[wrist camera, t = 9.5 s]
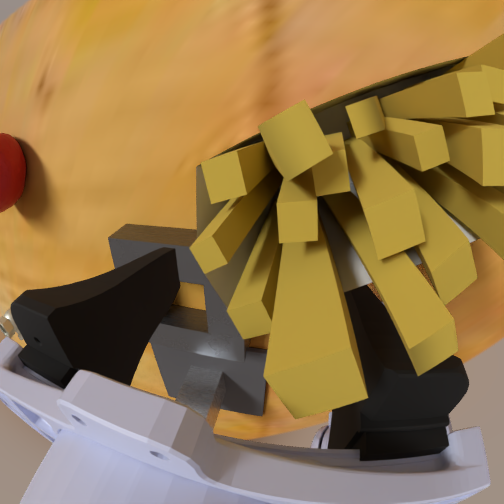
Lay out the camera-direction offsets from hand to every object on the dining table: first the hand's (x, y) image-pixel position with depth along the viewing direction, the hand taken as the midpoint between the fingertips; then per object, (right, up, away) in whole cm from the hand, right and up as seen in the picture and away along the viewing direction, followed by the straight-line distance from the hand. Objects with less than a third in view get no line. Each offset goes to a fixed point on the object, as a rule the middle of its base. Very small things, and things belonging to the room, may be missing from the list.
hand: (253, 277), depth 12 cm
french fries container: (+6, +10, +6) cm, 13 cm away
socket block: (-6, -2, +15) cm, 16 cm away
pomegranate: (-29, +12, +12) cm, 34 cm away
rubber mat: (-5, -15, +21) cm, 26 cm away
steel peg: (-5, -14, +20) cm, 26 cm away
